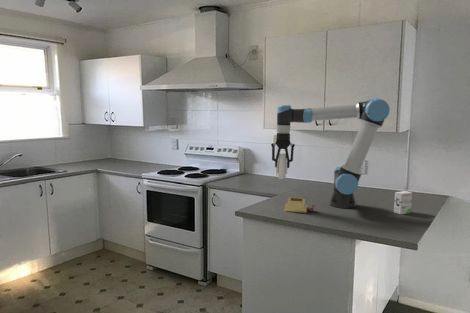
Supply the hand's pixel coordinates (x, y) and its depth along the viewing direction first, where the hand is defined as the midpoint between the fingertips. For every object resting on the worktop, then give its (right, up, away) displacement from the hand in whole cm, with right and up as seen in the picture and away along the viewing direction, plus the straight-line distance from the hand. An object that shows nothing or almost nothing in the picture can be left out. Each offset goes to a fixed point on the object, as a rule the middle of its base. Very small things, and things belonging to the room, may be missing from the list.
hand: (282, 173), depth 214 cm
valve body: (+9, -21, -5) cm, 23 cm away
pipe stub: (0, -3, 0) cm, 3 cm away
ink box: (+67, -22, -5) cm, 71 cm away
